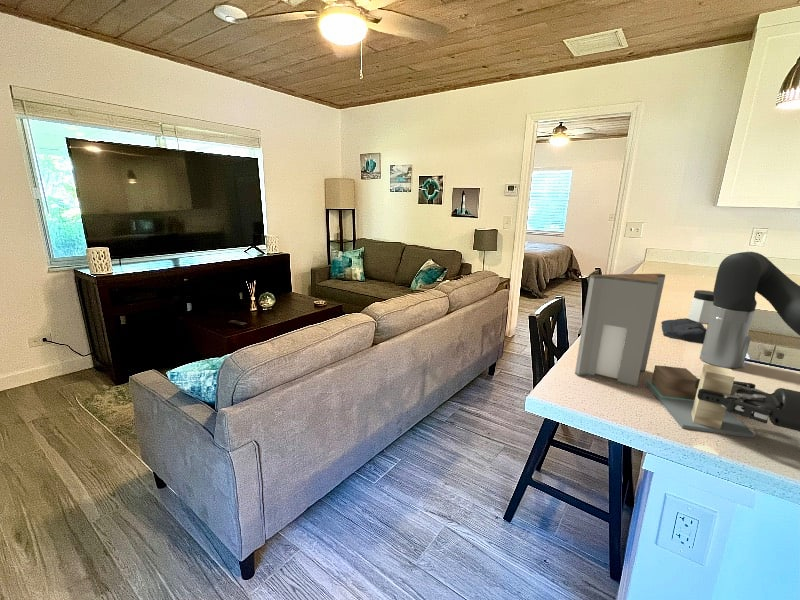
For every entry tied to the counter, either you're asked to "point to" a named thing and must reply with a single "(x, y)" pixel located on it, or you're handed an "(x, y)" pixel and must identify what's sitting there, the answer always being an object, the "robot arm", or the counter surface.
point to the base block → (674, 382)
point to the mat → (683, 416)
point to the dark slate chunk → (684, 330)
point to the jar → (701, 306)
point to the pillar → (716, 382)
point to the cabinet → (618, 326)
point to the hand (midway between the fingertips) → (697, 388)
